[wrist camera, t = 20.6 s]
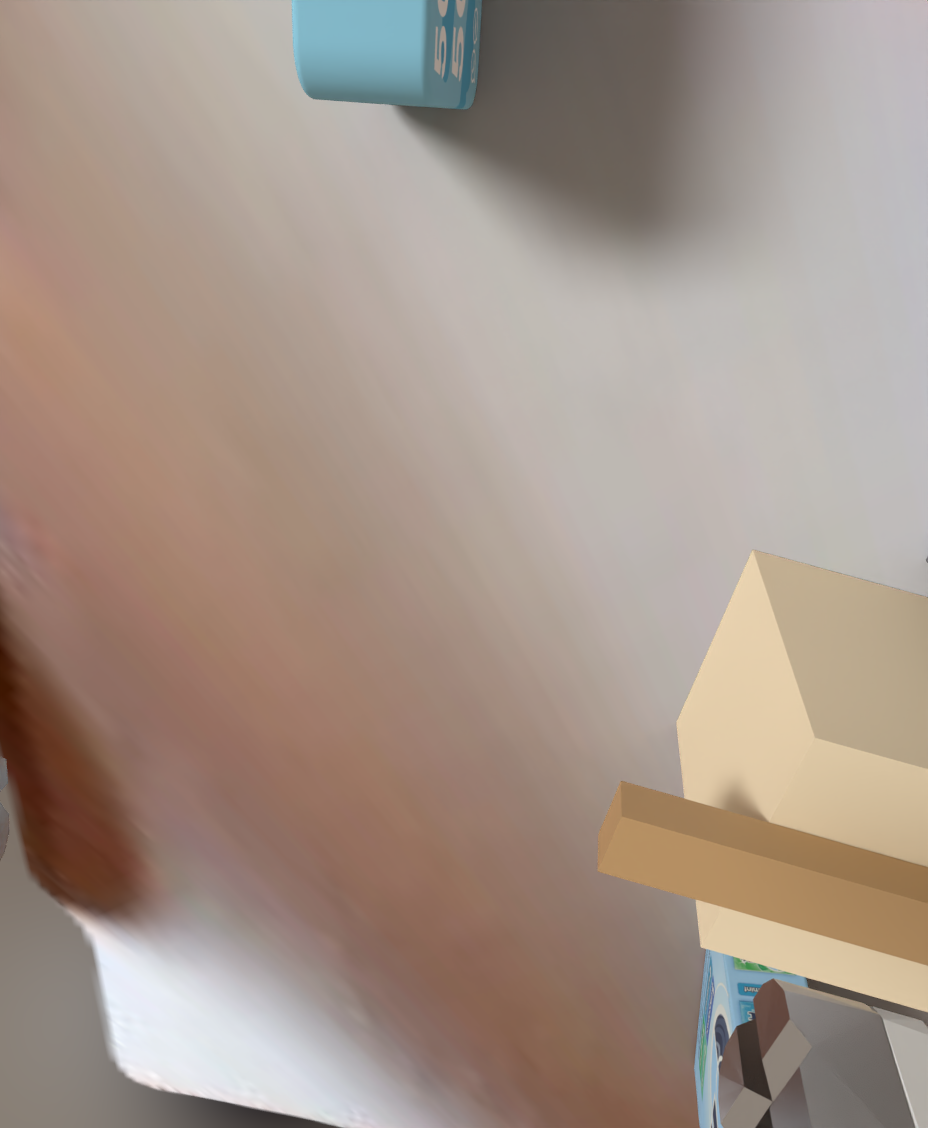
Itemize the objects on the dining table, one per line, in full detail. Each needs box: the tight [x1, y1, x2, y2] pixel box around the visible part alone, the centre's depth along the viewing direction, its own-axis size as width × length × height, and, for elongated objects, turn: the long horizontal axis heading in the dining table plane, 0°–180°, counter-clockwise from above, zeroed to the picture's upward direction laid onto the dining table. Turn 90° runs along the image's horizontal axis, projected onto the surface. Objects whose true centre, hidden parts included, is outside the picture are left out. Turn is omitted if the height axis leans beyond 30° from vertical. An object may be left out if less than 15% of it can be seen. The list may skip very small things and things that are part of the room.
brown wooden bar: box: [598, 781, 928, 966], centre depth 34 cm, size 22×3×2 cm, turn 77°
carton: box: [676, 550, 928, 1012], centre depth 42 cm, size 16×12×16 cm
